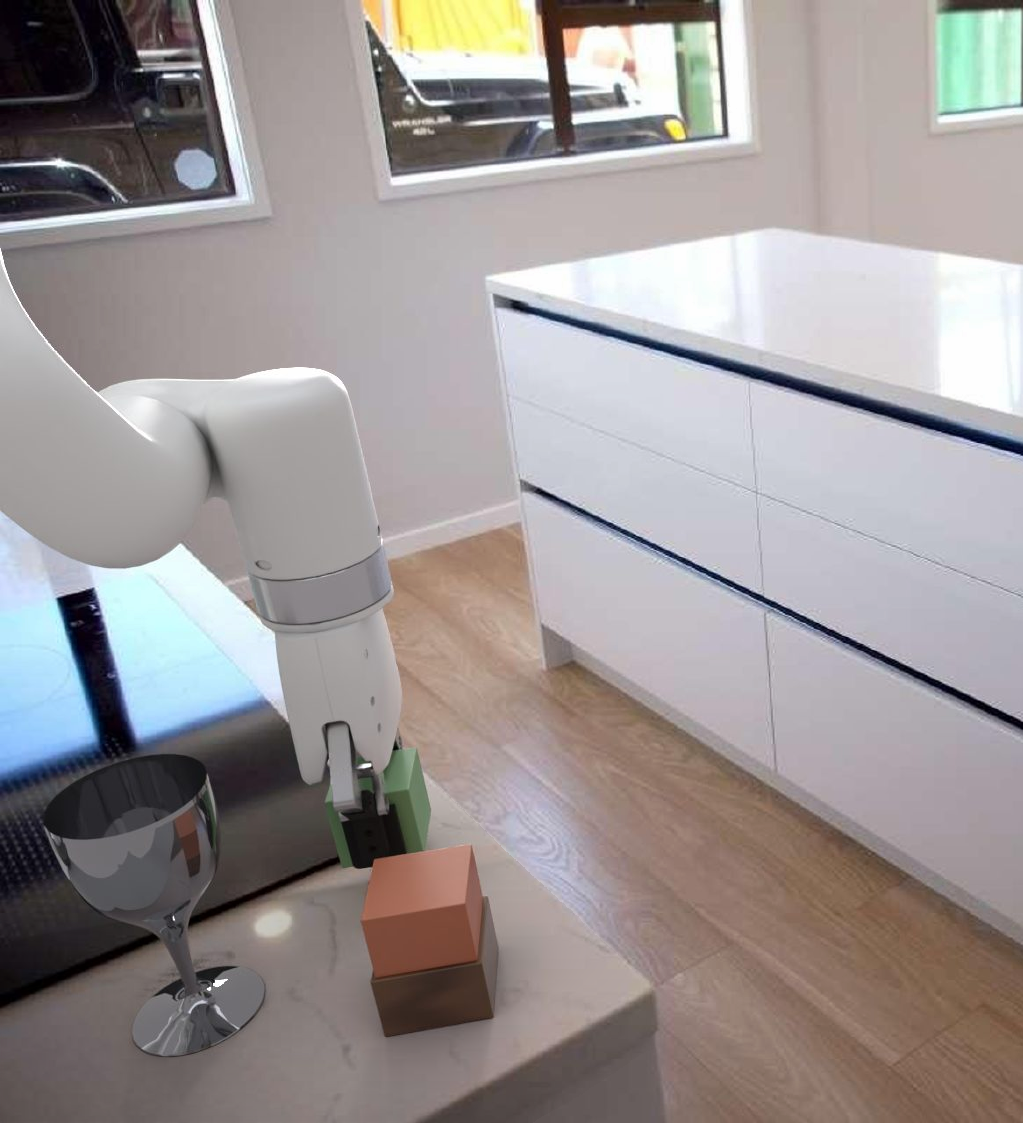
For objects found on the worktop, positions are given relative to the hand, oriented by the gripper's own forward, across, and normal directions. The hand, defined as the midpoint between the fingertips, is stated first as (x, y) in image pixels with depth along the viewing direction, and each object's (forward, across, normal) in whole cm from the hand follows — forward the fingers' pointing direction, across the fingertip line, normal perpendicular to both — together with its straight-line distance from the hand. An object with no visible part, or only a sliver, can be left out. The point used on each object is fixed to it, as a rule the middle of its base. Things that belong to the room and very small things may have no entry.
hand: (386, 833), depth 82 cm
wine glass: (+4, +9, -10) cm, 14 cm away
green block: (0, 0, 0) cm, 0 cm away
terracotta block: (0, +11, +4) cm, 12 cm away
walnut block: (+4, +11, +4) cm, 12 cm away
